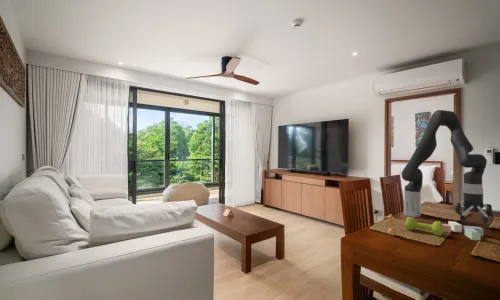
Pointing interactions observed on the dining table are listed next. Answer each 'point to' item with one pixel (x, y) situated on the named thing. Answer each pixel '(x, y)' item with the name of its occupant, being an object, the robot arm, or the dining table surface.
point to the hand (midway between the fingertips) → (473, 223)
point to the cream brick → (455, 226)
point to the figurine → (390, 230)
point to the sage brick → (472, 234)
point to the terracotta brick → (446, 228)
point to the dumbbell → (424, 226)
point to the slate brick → (474, 229)
